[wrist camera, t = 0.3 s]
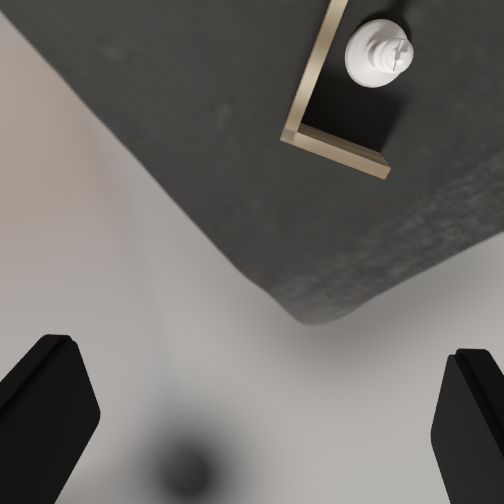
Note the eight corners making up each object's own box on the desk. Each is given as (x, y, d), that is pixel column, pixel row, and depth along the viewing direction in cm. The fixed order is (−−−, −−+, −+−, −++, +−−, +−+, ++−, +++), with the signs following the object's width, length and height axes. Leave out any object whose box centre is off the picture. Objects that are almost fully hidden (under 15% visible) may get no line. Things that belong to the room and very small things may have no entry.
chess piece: (415, 22, 30) (462, 11, 21) (398, 90, 32) (433, 106, 23) (352, 16, 30) (371, 2, 21) (339, 83, 32) (352, 96, 24)
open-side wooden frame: (364, -92, 27) (376, -119, 23) (480, -44, 27) (513, -62, 23) (283, 128, 35) (280, 140, 30) (374, 163, 35) (384, 179, 31)
